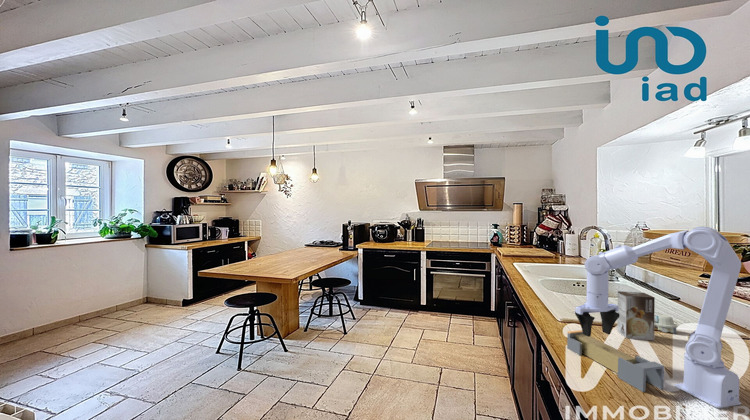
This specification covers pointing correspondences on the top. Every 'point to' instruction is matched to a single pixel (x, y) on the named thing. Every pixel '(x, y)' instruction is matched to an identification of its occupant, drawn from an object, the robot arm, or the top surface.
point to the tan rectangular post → (602, 352)
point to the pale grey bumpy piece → (664, 323)
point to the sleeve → (641, 373)
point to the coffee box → (636, 315)
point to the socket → (574, 342)
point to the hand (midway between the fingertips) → (596, 334)
